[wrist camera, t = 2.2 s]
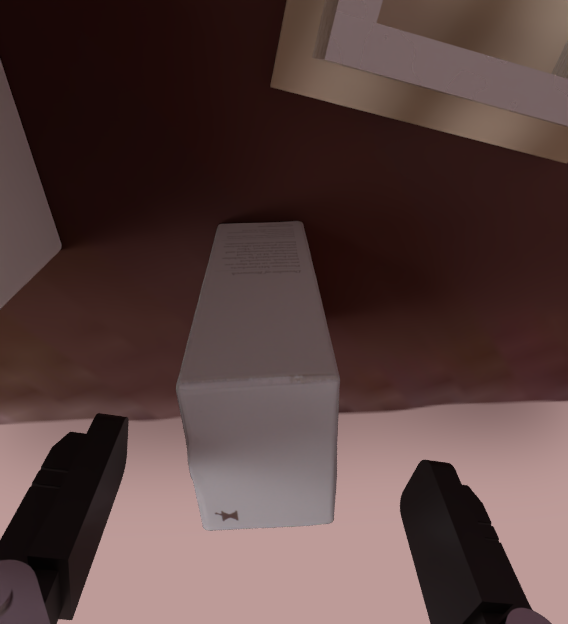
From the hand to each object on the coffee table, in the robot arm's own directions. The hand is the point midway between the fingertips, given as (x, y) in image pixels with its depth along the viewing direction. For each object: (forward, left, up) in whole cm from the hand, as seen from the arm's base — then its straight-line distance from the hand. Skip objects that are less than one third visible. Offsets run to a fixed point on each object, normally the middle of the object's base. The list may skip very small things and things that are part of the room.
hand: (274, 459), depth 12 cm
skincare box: (0, 0, -12) cm, 12 cm away
